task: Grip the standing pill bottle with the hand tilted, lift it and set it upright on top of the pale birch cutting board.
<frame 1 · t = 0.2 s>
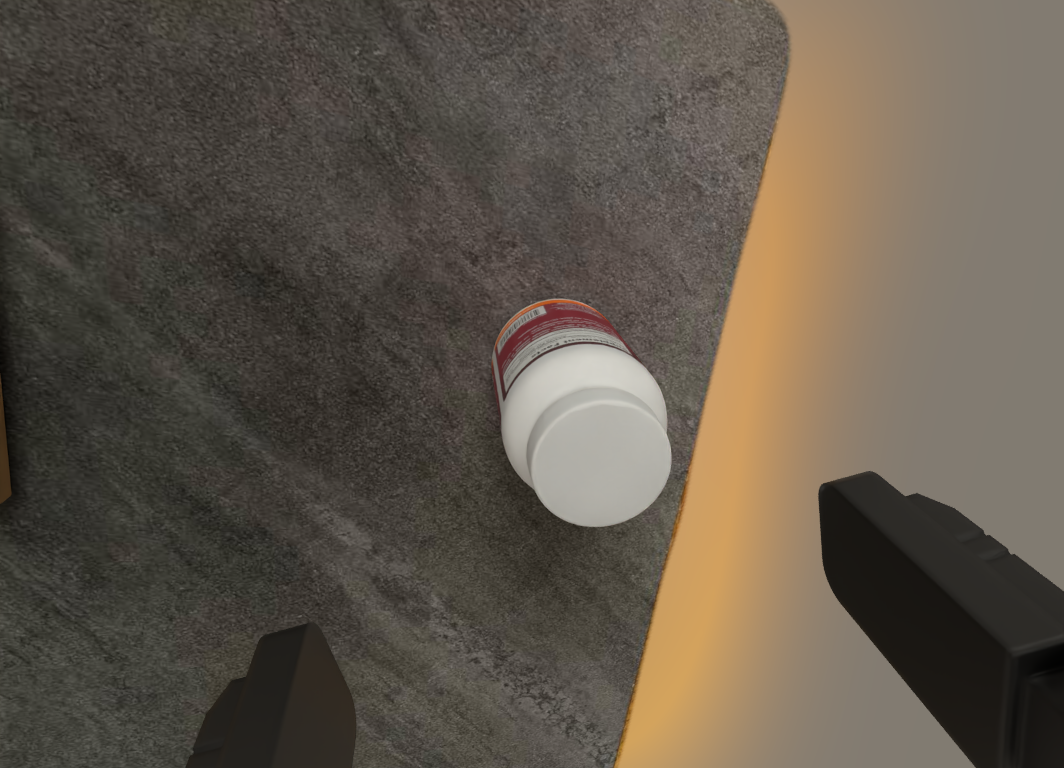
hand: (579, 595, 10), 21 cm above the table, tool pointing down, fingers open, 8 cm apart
pill bottle: (554, 356, 32), on the table
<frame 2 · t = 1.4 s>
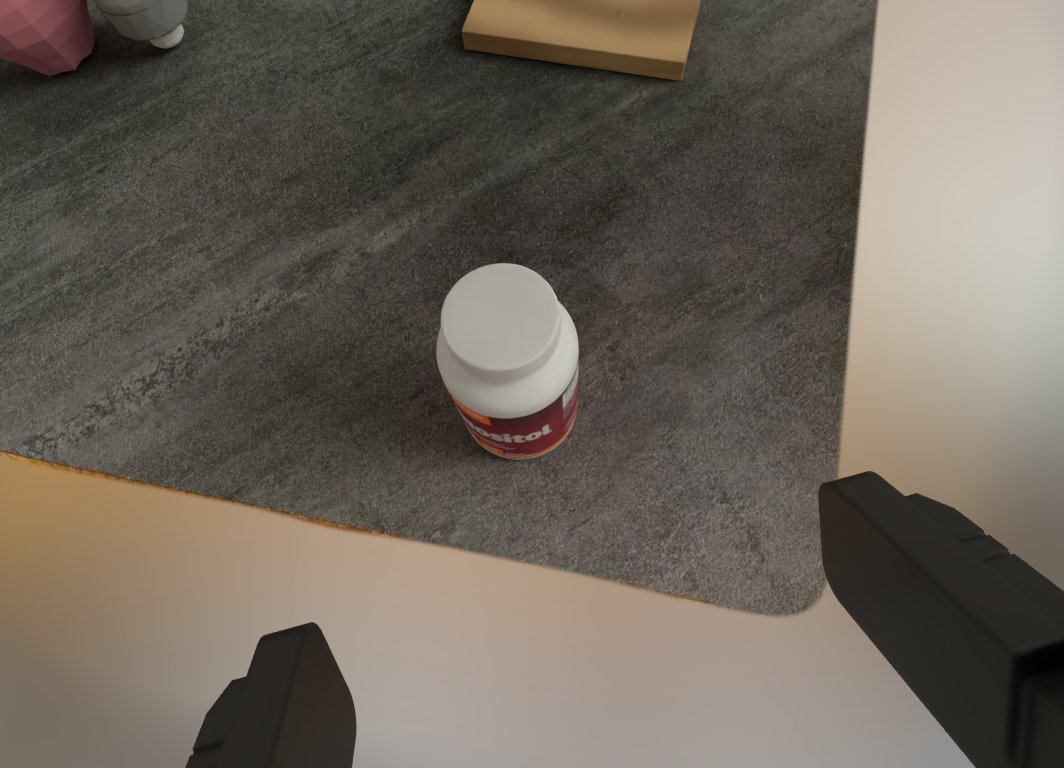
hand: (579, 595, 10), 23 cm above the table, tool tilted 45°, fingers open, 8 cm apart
apple: (71, 60, 48), on the table
light bulb: (175, 47, 48), on the table
pill bottle: (521, 408, 36), on the table
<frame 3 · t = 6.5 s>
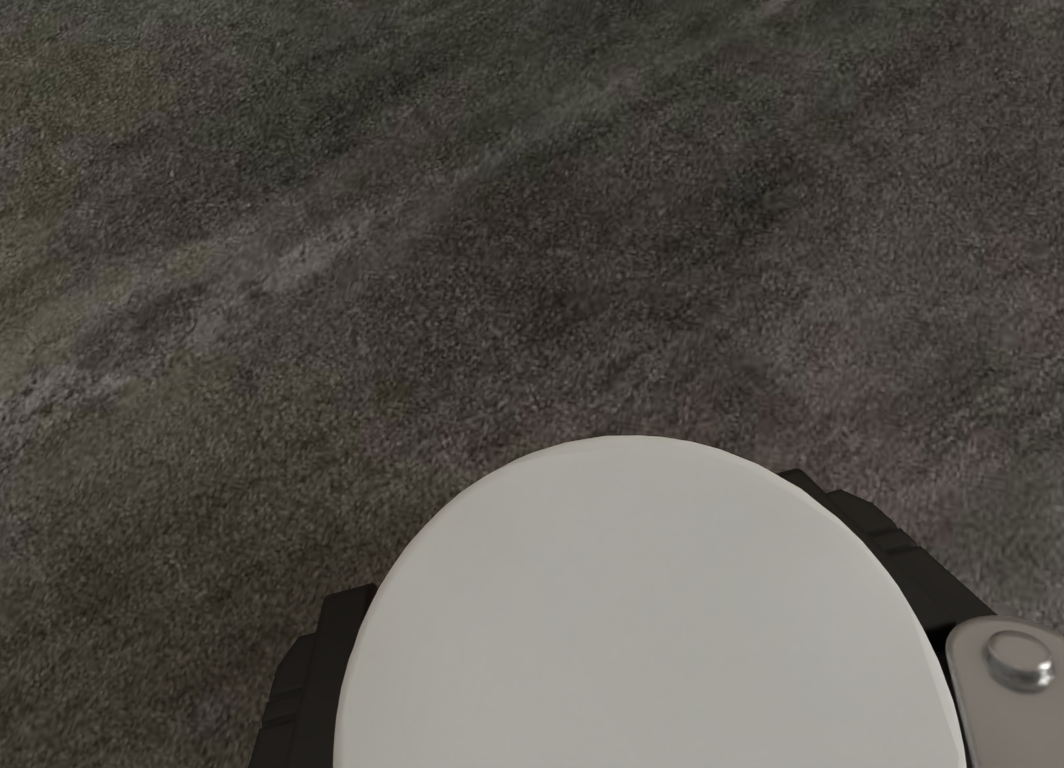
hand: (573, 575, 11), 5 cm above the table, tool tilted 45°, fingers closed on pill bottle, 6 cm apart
pill bottle: (595, 671, 15), on the table, touching gripper
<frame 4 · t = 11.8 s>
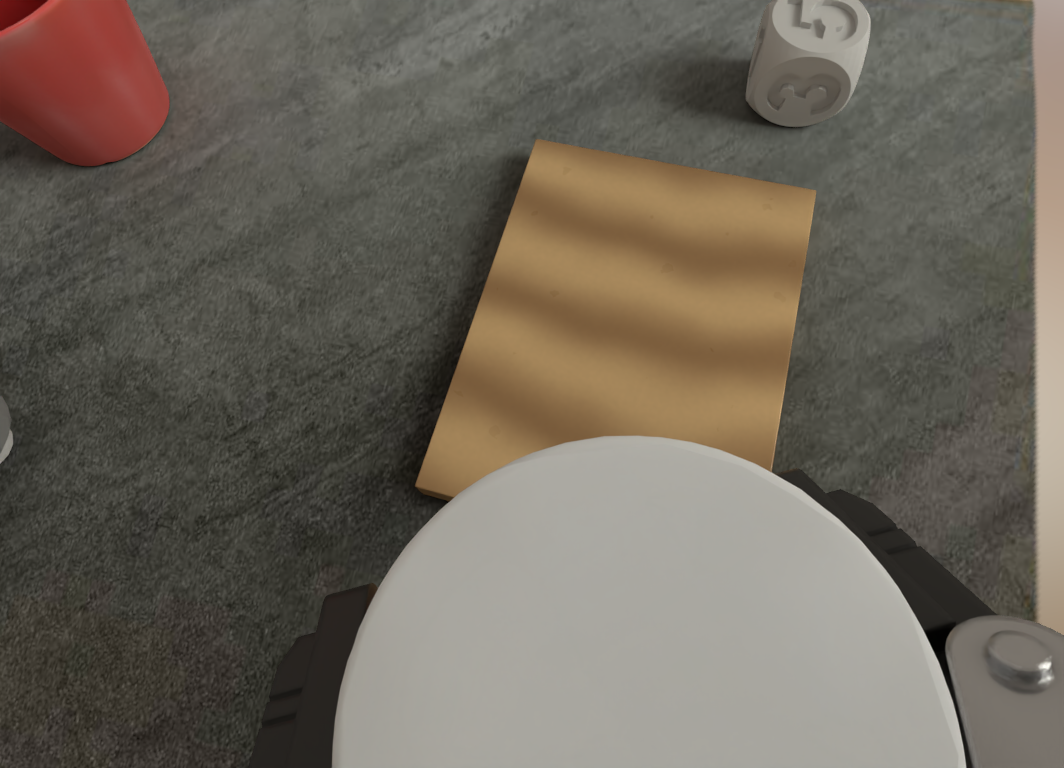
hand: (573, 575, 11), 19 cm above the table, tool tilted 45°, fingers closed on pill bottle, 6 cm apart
flower pot: (110, 119, 41), on the table
board: (627, 341, 33), on the table
light bulb: (5, 452, 33), on the table
pill bottle: (595, 671, 15), point 13 cm above the table, touching gripper
die: (789, 97, 38), on the table
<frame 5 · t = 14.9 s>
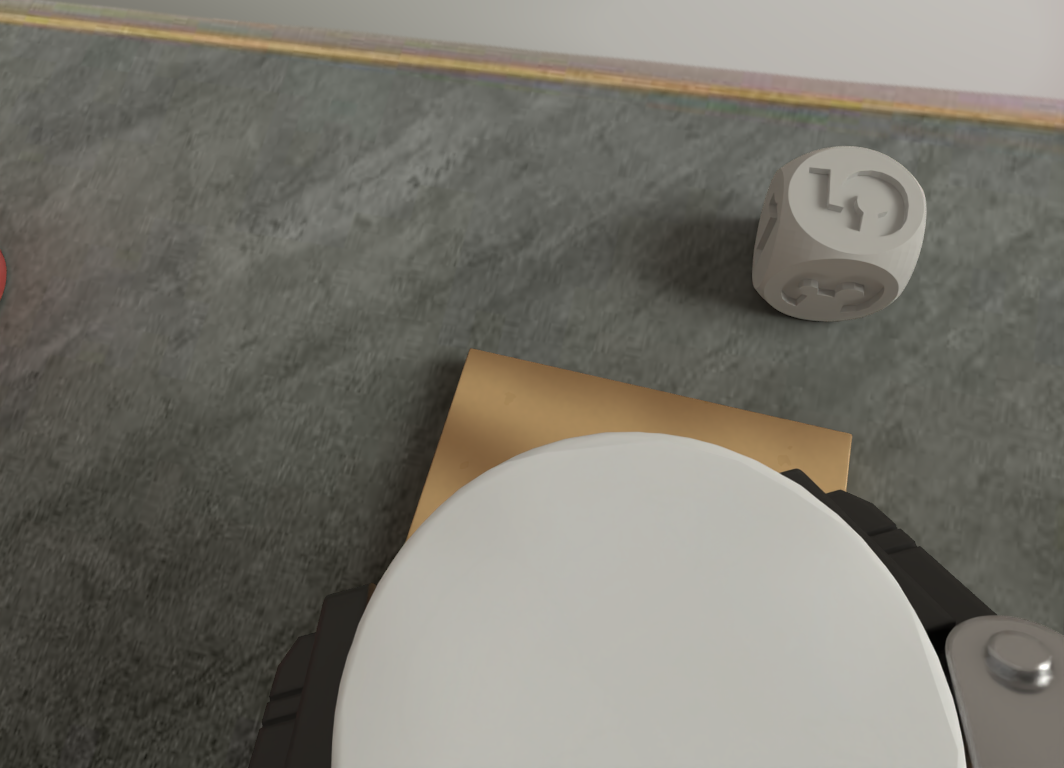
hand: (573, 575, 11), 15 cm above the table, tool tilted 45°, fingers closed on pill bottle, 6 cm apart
board: (591, 655, 24), on the table
pill bottle: (595, 669, 15), point 9 cm above the table, touching gripper
die: (809, 272, 29), on the table
when the fingers open (7 cm above the table, at t = 17.6 s): pill bottle stays where it is, resting on board.
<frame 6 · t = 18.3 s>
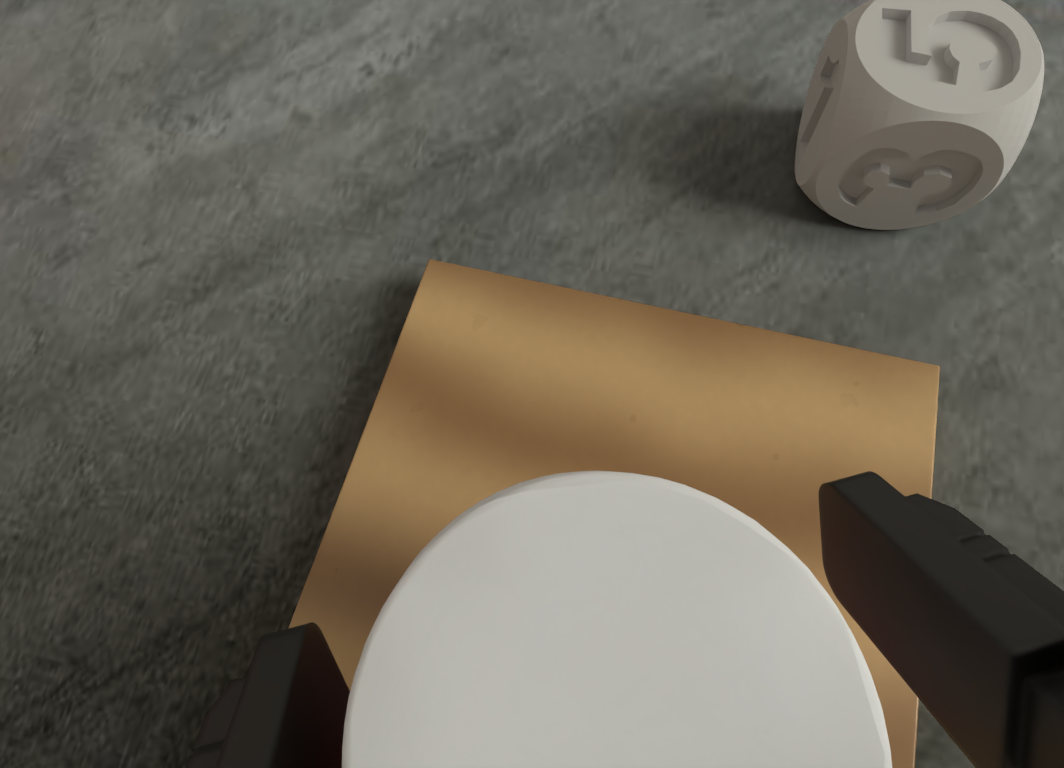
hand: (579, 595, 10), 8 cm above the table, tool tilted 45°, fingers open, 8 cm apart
board: (587, 665, 17), on the table
pill bottle: (585, 675, 16), point 1 cm above the table, touching board
die: (867, 173, 23), on the table
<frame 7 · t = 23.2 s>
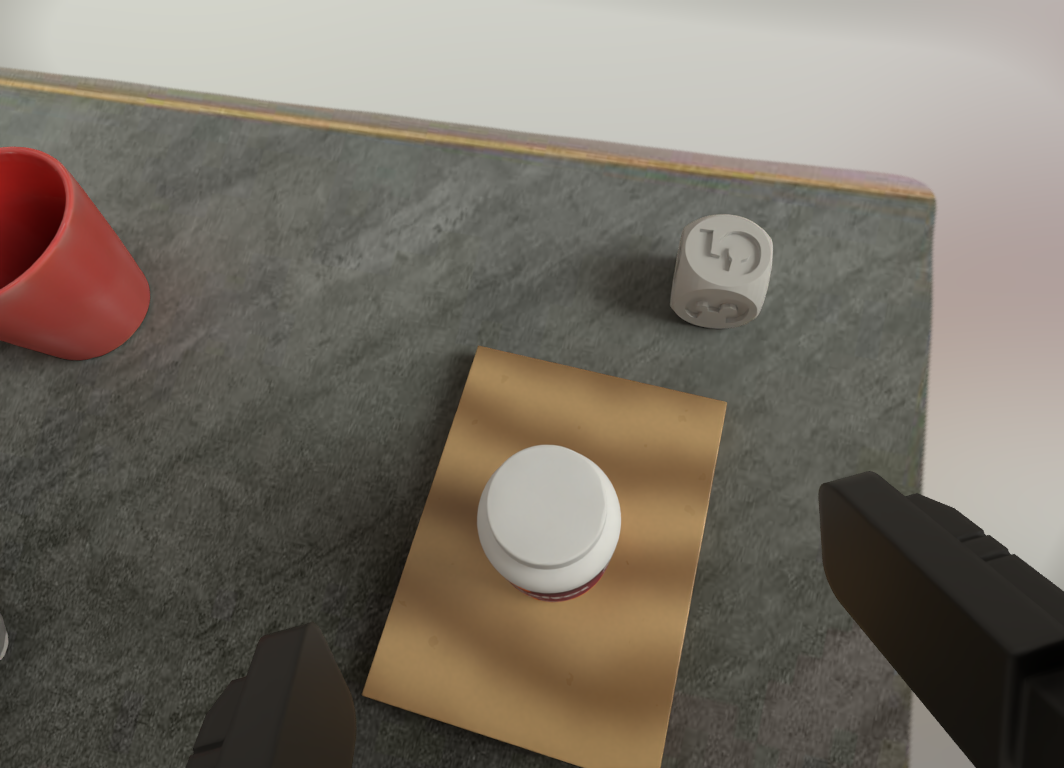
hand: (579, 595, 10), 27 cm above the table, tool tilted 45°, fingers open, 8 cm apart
flower pot: (97, 310, 45), on the table
board: (556, 543, 37), on the table
light bulb: (1, 647, 37), on the table
pill bottle: (554, 543, 35), point 1 cm above the table, touching board
die: (710, 295, 42), on the table
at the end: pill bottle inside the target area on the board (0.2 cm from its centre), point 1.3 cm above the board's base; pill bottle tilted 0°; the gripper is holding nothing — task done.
